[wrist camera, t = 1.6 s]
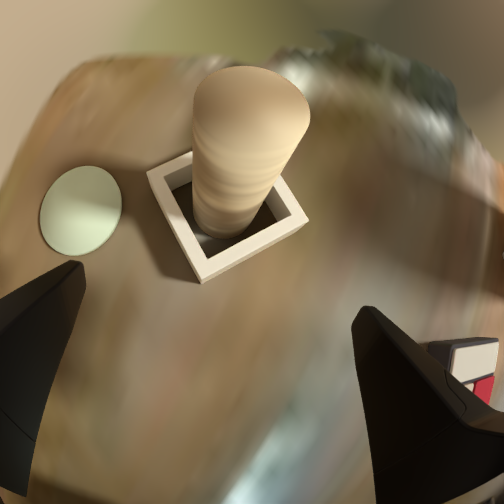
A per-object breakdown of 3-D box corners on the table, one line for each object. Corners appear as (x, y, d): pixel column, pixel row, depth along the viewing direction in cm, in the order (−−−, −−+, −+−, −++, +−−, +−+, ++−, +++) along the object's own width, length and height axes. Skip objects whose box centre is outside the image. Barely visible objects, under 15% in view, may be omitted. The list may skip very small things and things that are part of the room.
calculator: (421, 478, 18) (456, 344, 20) (399, 464, 22) (427, 341, 25) (477, 450, 19) (503, 337, 22) (456, 441, 24) (479, 336, 26)
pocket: (296, 231, 24) (309, 220, 21) (201, 284, 22) (201, 279, 19) (243, 147, 25) (249, 129, 22) (151, 188, 22) (146, 172, 20)
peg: (264, 221, 24) (331, 130, 11) (211, 249, 22) (229, 169, 10) (234, 173, 24) (270, 58, 12) (182, 197, 23) (175, 83, 10)
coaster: (136, 227, 22) (134, 225, 21) (57, 273, 19) (54, 271, 19) (105, 154, 22) (104, 151, 22) (35, 196, 20) (32, 194, 20)
